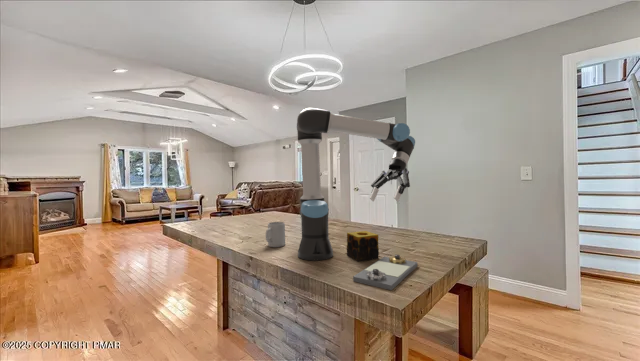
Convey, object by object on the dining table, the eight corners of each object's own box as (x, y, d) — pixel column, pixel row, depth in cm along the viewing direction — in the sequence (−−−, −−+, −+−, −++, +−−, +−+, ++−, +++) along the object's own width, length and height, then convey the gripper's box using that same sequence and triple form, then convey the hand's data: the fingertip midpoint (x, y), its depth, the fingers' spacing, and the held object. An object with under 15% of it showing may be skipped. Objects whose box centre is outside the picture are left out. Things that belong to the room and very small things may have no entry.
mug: (275, 242, 143) (275, 221, 143) (288, 244, 139) (288, 222, 139) (259, 247, 133) (259, 225, 133) (273, 249, 129) (273, 226, 128)
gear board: (353, 281, 89) (353, 269, 89) (384, 260, 110) (384, 250, 110) (391, 290, 82) (391, 277, 82) (417, 266, 103) (417, 255, 103)
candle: (358, 262, 108) (358, 237, 108) (345, 255, 118) (345, 232, 117) (379, 258, 112) (379, 234, 112) (366, 252, 122) (365, 230, 122)
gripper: (426, 165, 123) (412, 204, 114) (382, 170, 142) (367, 204, 134) (418, 154, 119) (403, 194, 111) (374, 161, 139) (358, 195, 130)
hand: (383, 199), depth 122 cm, fingers open, 13 cm apart
